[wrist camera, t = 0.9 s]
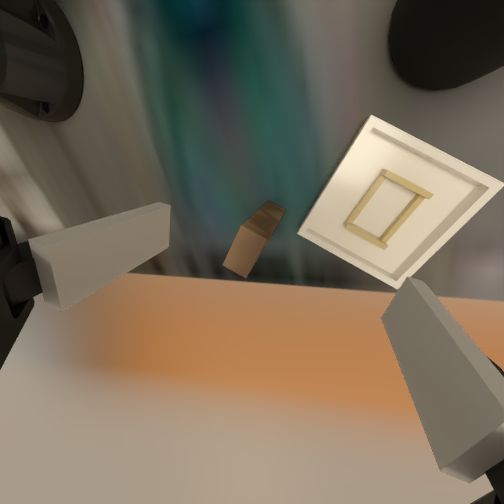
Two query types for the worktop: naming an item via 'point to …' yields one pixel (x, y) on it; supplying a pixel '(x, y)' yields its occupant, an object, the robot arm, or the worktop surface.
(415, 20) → the coffee jar
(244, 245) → the wooden wedge
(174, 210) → the worktop surface
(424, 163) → the candle dish
